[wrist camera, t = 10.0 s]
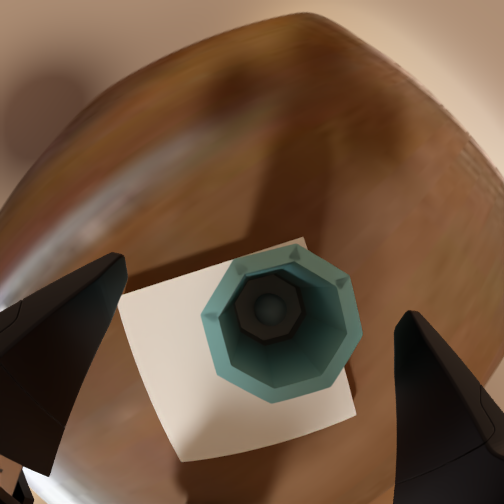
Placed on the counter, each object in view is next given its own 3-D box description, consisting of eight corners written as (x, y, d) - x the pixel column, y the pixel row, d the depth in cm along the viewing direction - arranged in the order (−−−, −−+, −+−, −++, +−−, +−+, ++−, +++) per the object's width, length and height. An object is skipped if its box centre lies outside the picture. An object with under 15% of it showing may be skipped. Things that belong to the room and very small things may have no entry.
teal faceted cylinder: (315, 334, 19) (369, 372, 9) (239, 354, 19) (228, 412, 9) (296, 259, 20) (337, 232, 10) (220, 279, 20) (189, 270, 10)
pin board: (350, 408, 20) (372, 433, 15) (185, 453, 19) (171, 484, 14) (299, 240, 22) (313, 226, 17) (123, 296, 21) (92, 298, 16)
